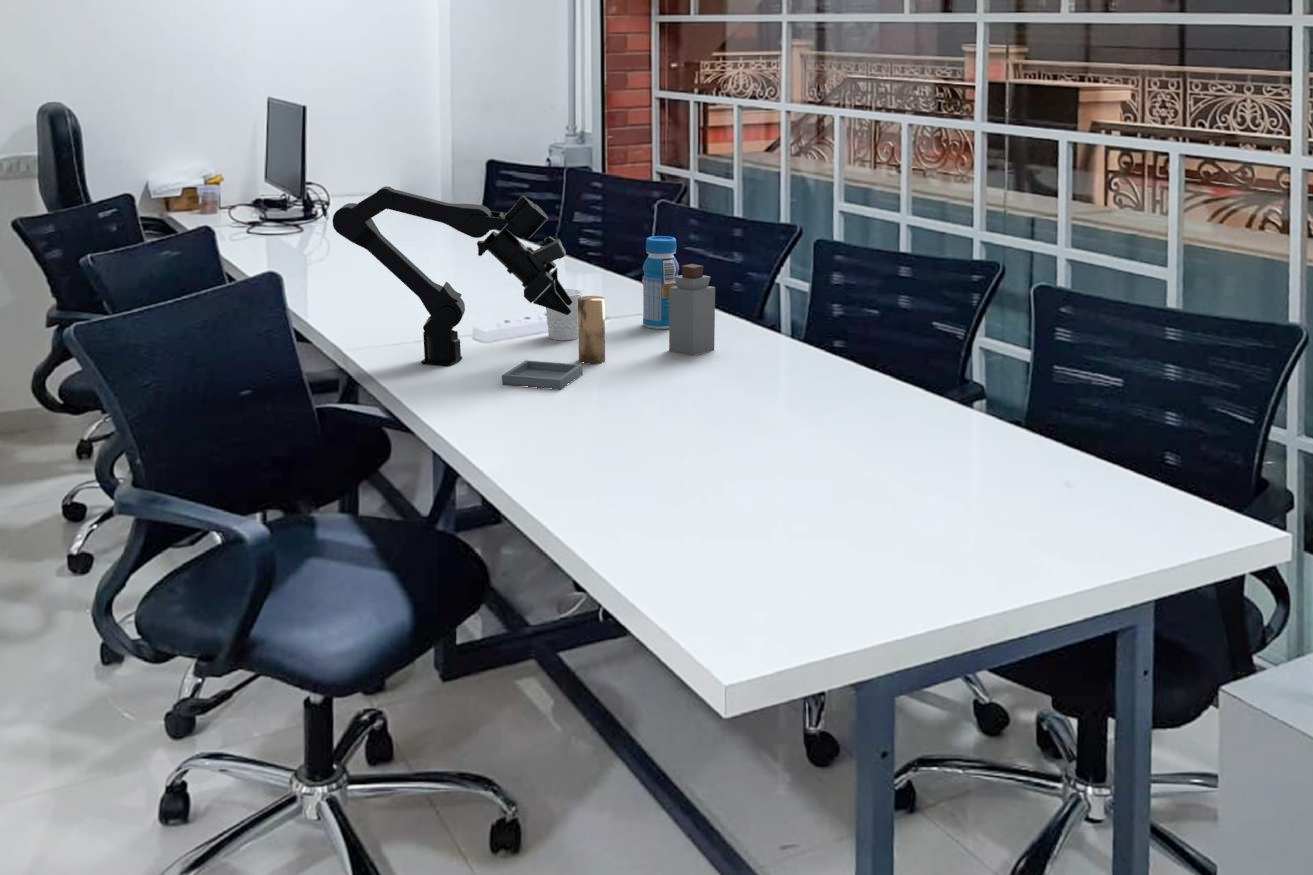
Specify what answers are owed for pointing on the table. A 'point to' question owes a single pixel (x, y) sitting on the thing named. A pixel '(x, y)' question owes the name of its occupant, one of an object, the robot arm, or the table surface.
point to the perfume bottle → (691, 312)
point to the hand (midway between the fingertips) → (570, 308)
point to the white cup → (564, 319)
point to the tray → (542, 374)
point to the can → (591, 329)
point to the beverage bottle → (658, 280)
